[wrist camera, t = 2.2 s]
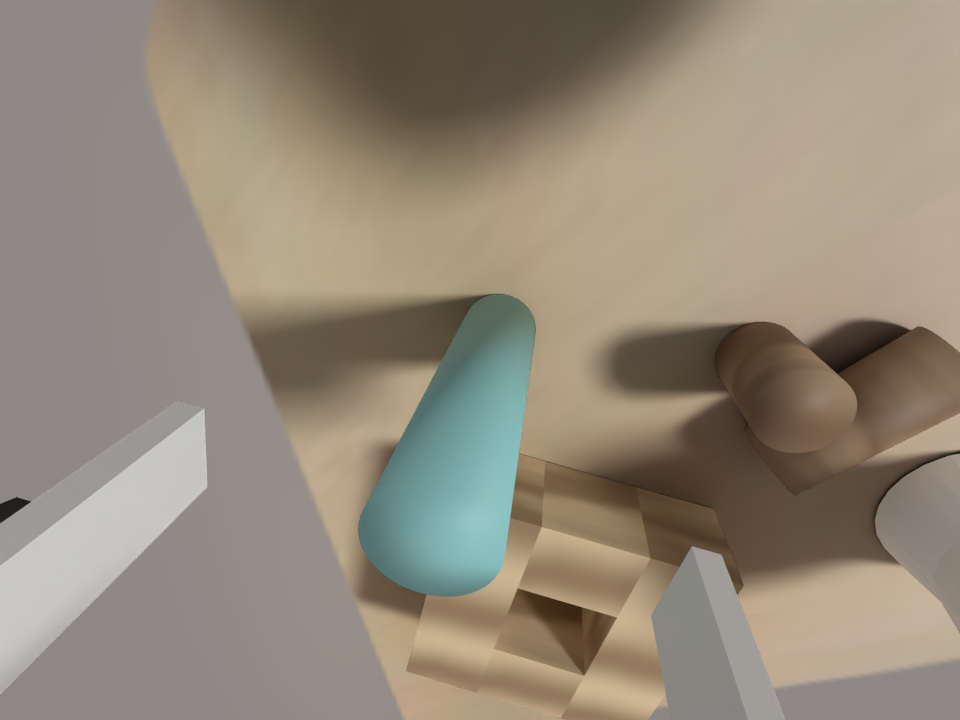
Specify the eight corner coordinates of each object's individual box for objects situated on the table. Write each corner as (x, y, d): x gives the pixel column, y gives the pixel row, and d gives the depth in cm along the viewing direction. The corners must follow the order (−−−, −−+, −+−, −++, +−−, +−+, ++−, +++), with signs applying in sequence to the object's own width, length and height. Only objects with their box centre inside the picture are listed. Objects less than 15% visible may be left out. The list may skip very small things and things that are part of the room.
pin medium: (763, 446, 25) (927, 354, 22) (806, 505, 23) (999, 411, 19) (733, 416, 24) (906, 312, 20) (775, 477, 21) (983, 368, 18)
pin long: (472, 285, 23) (367, 466, 11) (544, 305, 23) (522, 510, 11) (457, 350, 25) (351, 572, 12) (524, 369, 25) (485, 612, 12)
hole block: (469, 439, 27) (451, 500, 23) (713, 509, 27) (743, 585, 22) (427, 599, 34) (406, 671, 29) (623, 657, 33) (633, 740, 29)
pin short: (735, 312, 22) (779, 359, 18) (814, 333, 22) (878, 386, 17) (701, 379, 24) (733, 438, 19) (774, 399, 23) (823, 463, 19)
